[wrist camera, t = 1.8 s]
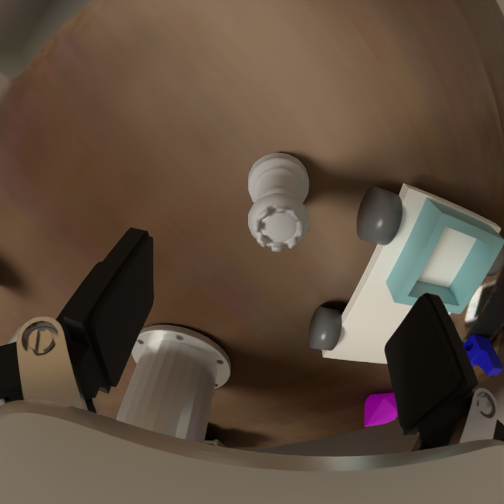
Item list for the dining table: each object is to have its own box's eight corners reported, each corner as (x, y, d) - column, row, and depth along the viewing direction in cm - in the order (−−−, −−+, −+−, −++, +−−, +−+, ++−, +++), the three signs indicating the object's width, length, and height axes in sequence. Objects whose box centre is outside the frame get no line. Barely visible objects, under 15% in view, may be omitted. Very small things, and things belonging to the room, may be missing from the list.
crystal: (377, 407, 39) (381, 431, 35) (357, 400, 37) (360, 426, 34) (403, 392, 36) (409, 417, 32) (384, 384, 35) (390, 411, 31)
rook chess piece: (318, 191, 22) (337, 246, 15) (267, 216, 23) (262, 279, 16) (290, 140, 20) (298, 171, 13) (237, 169, 21) (216, 214, 14)
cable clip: (472, 333, 29) (489, 367, 24) (487, 337, 30) (503, 368, 25) (419, 385, 35) (428, 417, 30) (437, 386, 36) (446, 417, 31)
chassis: (414, 346, 30) (426, 382, 26) (304, 332, 30) (306, 375, 25) (494, 218, 21) (526, 248, 16) (373, 167, 20) (400, 193, 15)
